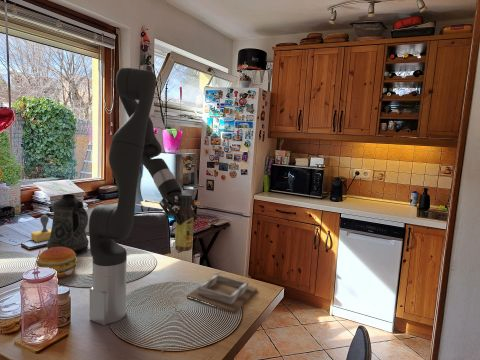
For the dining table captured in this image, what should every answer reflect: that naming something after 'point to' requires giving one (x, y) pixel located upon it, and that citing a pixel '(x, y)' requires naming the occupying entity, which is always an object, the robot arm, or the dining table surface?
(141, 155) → the robot arm
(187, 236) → the sauce bottle
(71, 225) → the beer stein
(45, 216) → the rubber stamp
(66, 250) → the burger
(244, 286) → the carrier board
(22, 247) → the dining table surface
